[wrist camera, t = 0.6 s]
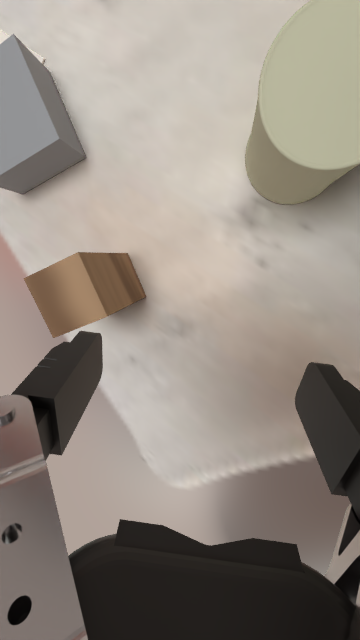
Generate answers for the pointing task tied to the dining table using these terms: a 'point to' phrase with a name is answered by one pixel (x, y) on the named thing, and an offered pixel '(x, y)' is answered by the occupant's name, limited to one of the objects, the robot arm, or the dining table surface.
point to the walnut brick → (84, 289)
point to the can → (308, 104)
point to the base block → (31, 122)
